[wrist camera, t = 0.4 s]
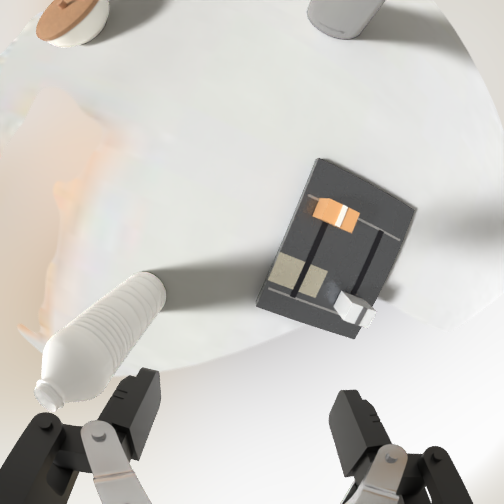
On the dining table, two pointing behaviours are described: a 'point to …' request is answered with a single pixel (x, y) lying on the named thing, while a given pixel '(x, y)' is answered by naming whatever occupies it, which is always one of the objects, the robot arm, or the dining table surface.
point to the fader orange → (336, 214)
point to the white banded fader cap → (354, 310)
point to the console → (334, 251)
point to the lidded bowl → (72, 22)
